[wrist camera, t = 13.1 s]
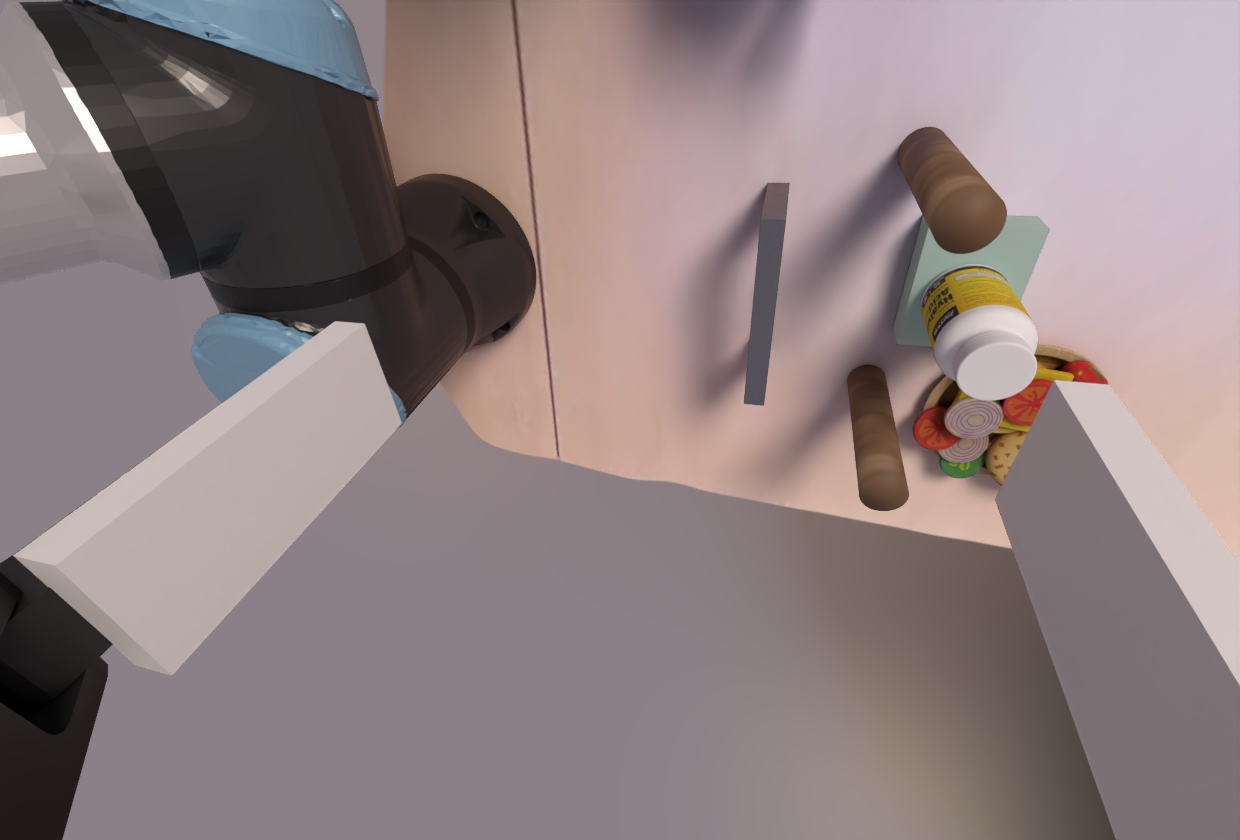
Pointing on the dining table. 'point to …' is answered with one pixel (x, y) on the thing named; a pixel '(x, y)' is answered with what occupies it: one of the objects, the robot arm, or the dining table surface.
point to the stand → (1005, 254)
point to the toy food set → (993, 417)
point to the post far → (875, 441)
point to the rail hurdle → (765, 290)
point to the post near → (950, 192)
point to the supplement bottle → (980, 332)
